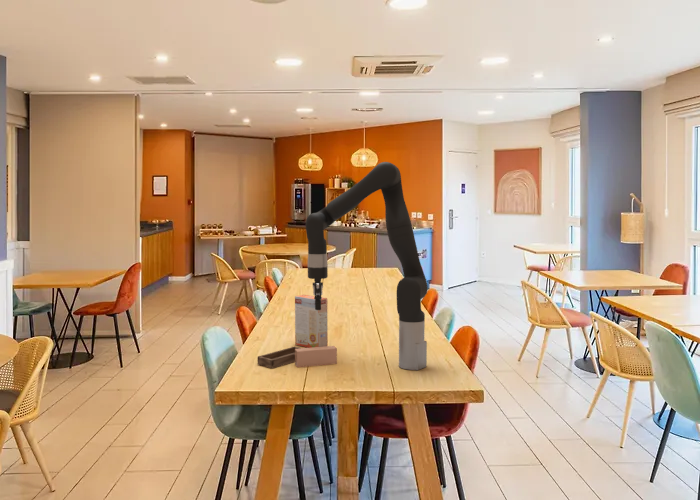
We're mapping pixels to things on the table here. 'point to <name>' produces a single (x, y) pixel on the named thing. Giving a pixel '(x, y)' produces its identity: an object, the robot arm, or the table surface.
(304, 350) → the clay strip
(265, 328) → the table surface
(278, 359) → the tray
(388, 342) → the table surface
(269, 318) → the table surface
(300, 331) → the cracker box
